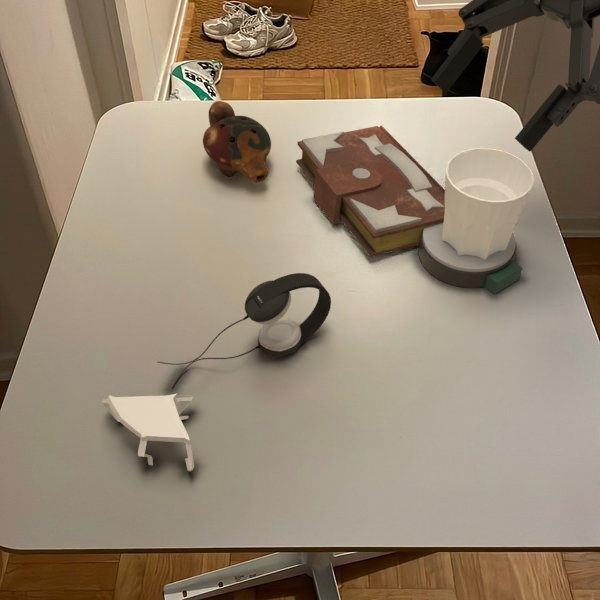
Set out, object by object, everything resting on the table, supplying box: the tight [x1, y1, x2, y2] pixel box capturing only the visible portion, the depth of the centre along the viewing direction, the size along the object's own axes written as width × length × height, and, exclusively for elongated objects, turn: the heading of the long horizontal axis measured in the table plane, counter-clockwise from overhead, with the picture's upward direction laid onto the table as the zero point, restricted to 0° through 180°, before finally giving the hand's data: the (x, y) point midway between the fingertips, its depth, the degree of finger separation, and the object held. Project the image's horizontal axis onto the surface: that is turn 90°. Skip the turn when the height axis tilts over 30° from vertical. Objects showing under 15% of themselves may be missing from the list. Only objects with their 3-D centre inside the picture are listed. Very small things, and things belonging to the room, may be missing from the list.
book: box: [295, 125, 445, 258], centre depth 102 cm, size 23×16×5 cm
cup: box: [442, 147, 535, 260], centre depth 89 cm, size 10×10×10 cm
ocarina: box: [202, 100, 272, 184], centre depth 107 cm, size 10×15×8 cm, turn 34°
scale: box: [418, 222, 523, 295], centre depth 94 cm, size 13×12×3 cm
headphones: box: [157, 272, 332, 389], centre depth 81 cm, size 10×4×20 cm
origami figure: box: [101, 393, 195, 472], centre depth 75 cm, size 12×8×5 cm
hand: (478, 114), depth 79 cm, fingers open, 13 cm apart
